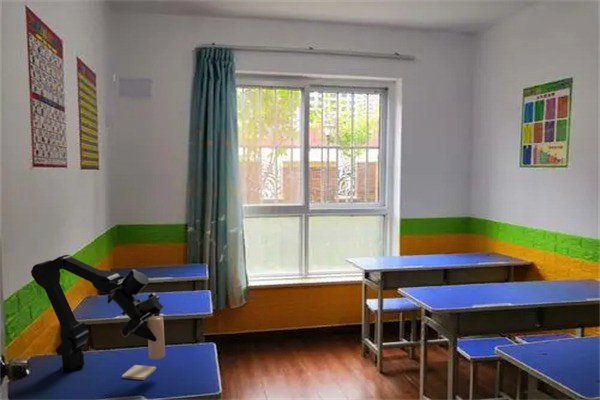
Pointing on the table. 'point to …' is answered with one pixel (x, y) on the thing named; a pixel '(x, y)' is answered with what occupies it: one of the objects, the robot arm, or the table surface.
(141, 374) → the coaster
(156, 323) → the tan rounded cylinder
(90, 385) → the table surface
